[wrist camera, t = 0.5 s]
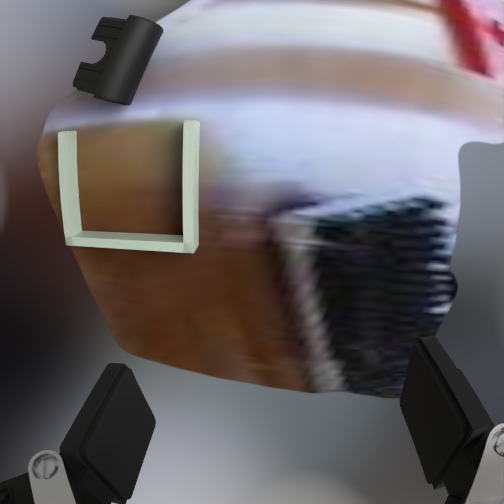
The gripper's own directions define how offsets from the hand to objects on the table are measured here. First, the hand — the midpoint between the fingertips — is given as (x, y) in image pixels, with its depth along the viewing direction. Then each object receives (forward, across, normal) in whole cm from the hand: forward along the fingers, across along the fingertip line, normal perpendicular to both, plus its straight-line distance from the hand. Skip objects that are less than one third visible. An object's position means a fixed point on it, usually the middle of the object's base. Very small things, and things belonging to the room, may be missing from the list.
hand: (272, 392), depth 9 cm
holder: (+29, +17, -5) cm, 34 cm away
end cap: (+30, +14, -20) cm, 39 cm away
